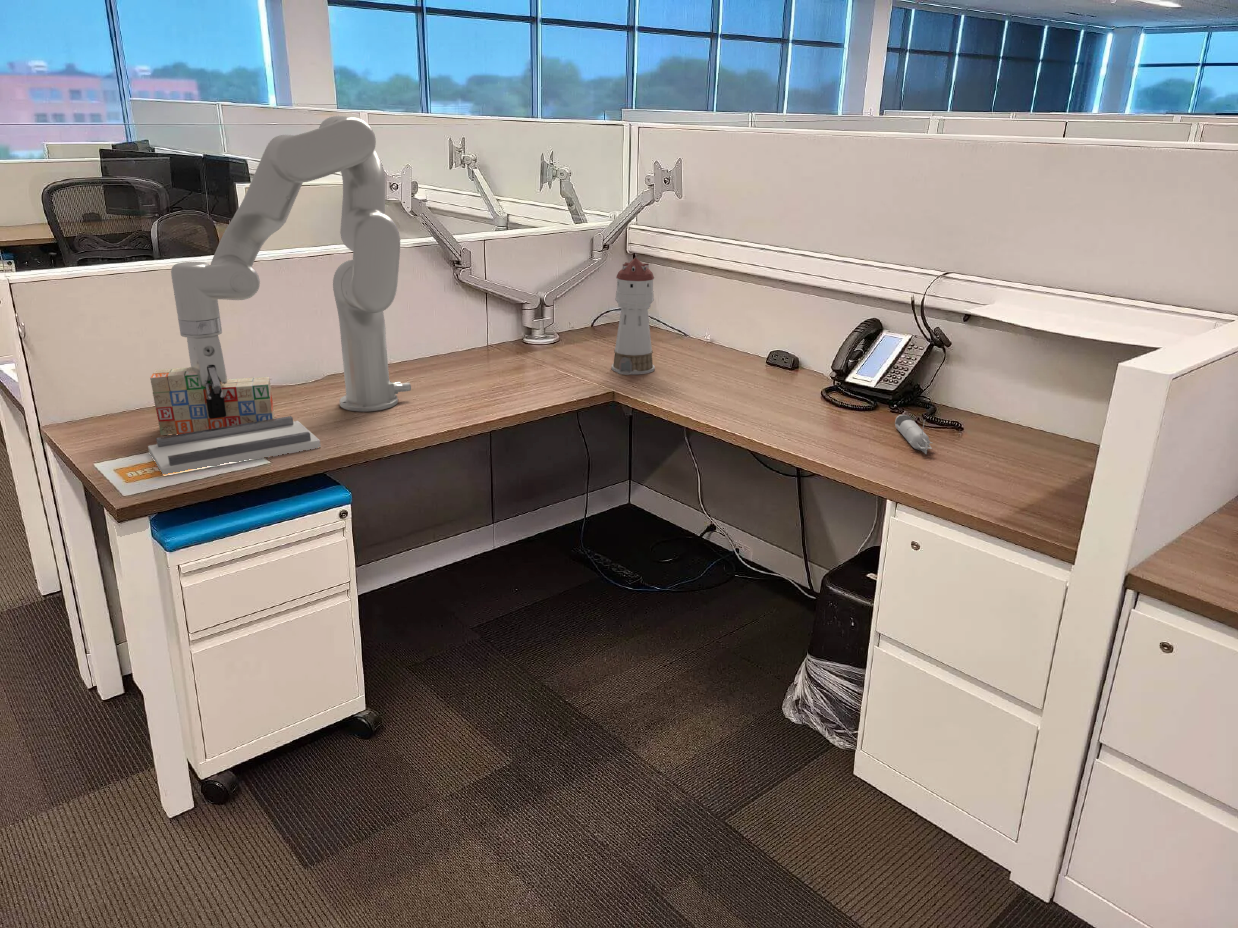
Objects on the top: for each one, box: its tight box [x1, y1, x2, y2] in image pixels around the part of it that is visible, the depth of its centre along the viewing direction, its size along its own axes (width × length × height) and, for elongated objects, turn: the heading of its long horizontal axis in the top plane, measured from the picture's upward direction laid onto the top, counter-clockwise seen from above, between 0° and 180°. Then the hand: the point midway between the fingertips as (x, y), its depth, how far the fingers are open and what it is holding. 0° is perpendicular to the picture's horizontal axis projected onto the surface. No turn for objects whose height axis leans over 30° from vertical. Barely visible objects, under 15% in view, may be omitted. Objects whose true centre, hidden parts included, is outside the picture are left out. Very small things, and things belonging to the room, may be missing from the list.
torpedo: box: [894, 414, 933, 455], centre depth 183 cm, size 18×5×7 cm, turn 0°
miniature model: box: [611, 253, 656, 376], centre depth 226 cm, size 11×12×30 cm
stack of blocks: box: [149, 366, 276, 436], centre depth 182 cm, size 21×6×12 cm, turn 107°
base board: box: [147, 415, 322, 475], centre depth 171 cm, size 28×14×3 cm, turn 125°
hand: (212, 411), depth 182 cm, fingers closed on stack of blocks, 7 cm apart
